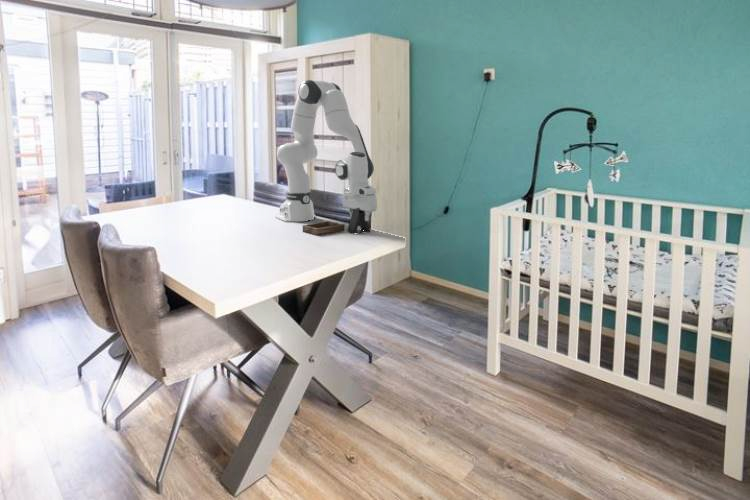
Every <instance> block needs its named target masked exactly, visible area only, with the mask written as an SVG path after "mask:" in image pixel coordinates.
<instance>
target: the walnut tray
mask: <svg viewBox="0 0 750 500" xmlns="http://www.w3.org/2000/svg"><path fill="white" fill-rule="evenodd" d="M345 228H346V227H345V223H344V224H343V223H340V222H339V223H338V222H334V221H330V220H327V221H326V220H325V221H322V222H315V223H309V224H303V225H302V233H306V234H310V235H313V236H316V237H320V236H321V237H322V236H325V235H330V234H336V232H337V233H340V232H341V231H342V232H345V231H346V229H345Z"/></svg>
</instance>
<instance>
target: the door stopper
mask: <svg viewBox="0 0 750 500" xmlns="http://www.w3.org/2000/svg"><path fill="white" fill-rule="evenodd" d="M359 209H360V208H356V209H353V213H352V216H351V218H350V219H349V220H350V221H349V223H348V227H347V231H348V232H347V233H350V234H352V233H353V234H352V235H355V234H354V233H359V234H363V233H362V232H367V233H371V228H370V226H369V223H368V221H364V217H365V215H366V213H365V211H362V210H359ZM359 226H360V229H361V230H360V229H358V227H359ZM363 230H364V231H363Z"/></svg>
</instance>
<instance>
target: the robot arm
mask: <svg viewBox="0 0 750 500" xmlns="http://www.w3.org/2000/svg"><path fill="white" fill-rule="evenodd" d="M297 92H298V95H297V98H296V100H295V103H294V108H293V111H292V112H293V113H292V118H291V123H290V124H291V125H290V129H291V131H292V132H293V134H294V142H286V143H284V144H282V145H280V146H279V147H278V148H277V150H276V159H277V161H278V162H279V163H280V164H281V165H282V166H283V168H284V171H285V174H286V179H287V192H286V193H285V195H286V200H285V201H284V202H283V203H282V204H280V207H279V214H276V215H275V216H274V217H275V219H278V220H280V221H282V220H283V222H297V223H298V222H299V223H300V222H308V220H310V221H313V220H315V219H314V217H315V218H316V217H317V216H316V214H315V209H314V203H313V201H312V200H311V199H312V191H311V181H310V179H311V178H310V176H309V174H308V173H307V172H306V170H305V167H304V164H309V163H311V162H313V161H315V159H317V156H318V149H317V145H315V141H314V128H315V123H316V118H317V111H318V108H319V107H320V106H321V107H323V112H324V116H325V122H326V124H327V128H328V129H329V131H331V132H333V133H334V134H335V135H339V136H342V137H343V138H346V139H347V140H349V141H350V142H351V145H352V147H353V149H354V151H352V152H349V154H348V155H347V157H345V158H342V159H340V160H338V161H336V164H335V167H334V168H335V169H334V170H335V171H334V172H335V175H336V177H337V178H338V179H339V180H341V181H348V187H345V188H344V189H343V193H342V207H343V208H345V209H347V211H348V213H349V215H350V216H349V217H350V219H351V216H352V213H353V209H356V208H360V209H359V210H362V211H364V214H365V217H364V221H367V222H369V220H370V215H371V213H373V212H376V211H377V209H378V201H377V200H378V199H377V196H376V194H377V188H374V187H373V186H372V185H370V184H369V179H370V178H371V177H372V176H373V173H374V170H375V169H374V168H375V167H374V166H375V165H374V163H373V161H372V160H371V157H370V156H369V153H368V150H367V147H366V144H365V141H364V138H363V135H362V133H361V129H360V128H359V126H358V125H357V124H356V123H354V120H353V119H352V117H351V116H350V115H351V114H350V111H349V106H348V102H347V99H346V97H345V94H344V92H343V91H342V89H341V88H340V86H339V85H338V84H336V83H334V82H329V81H326V80H325V81H324V80H312V79H307V80H304V81H302V82H301V83H300V84H299V86H298V91H297Z"/></svg>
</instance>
